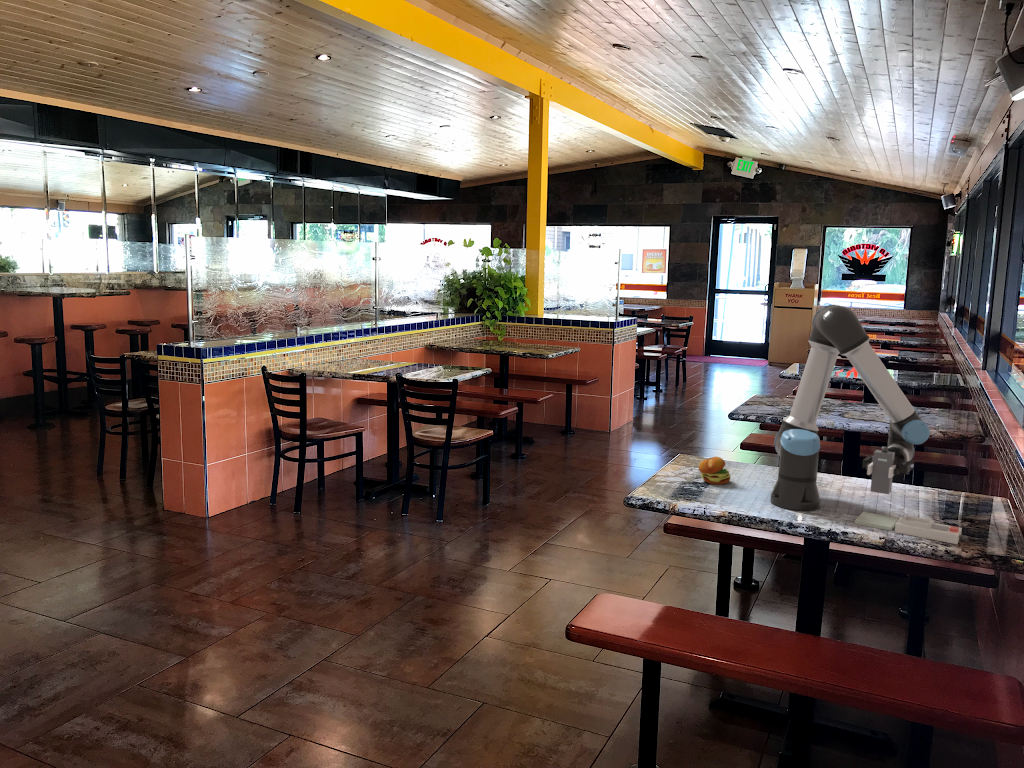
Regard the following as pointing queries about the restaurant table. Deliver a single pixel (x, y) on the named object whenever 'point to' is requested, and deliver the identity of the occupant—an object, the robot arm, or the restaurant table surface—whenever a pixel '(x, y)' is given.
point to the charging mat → (876, 521)
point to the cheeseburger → (714, 471)
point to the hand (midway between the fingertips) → (879, 471)
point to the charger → (882, 471)
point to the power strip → (928, 529)
